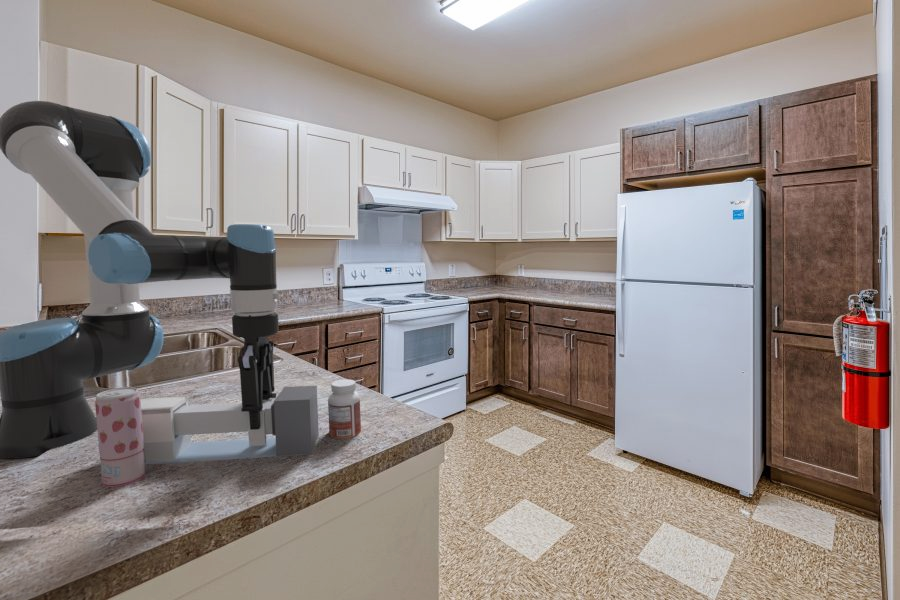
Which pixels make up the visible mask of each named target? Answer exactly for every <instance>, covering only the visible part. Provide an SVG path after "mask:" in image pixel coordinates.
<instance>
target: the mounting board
mask: <svg viewBox="0 0 900 600" xmlns="http://www.w3.org/2000/svg"><path fill="white" fill-rule="evenodd" d="M318 437H319V435H318ZM315 447H316V445H315V446H314V448H315ZM304 455H307V454H302V455H301V456H304ZM288 456H291V455H286V456H285V457H288ZM270 457H272V458H274V457H277V456H276V437H266V445H259V446H249V438H248V439H247V438H245V439H230V440H213V441H212V440H211V441H195V442H193V441H192V442H191V445H190V446H189V447H188V448H187V449H186V450H185V451H184V452H183V453H182V454H181V455H180V456H179V457H178V458H177V459H176V460H174V461H163V462H147V463H146V466H147V465H149V466H150V465H161V464H163V465H164V464H176V463H177V464H179V463H180V464H181V463H194V462H207V461H208V462H209V461H210V462H211V461H223V460H224V461H225V460H227V461H228V460H242V459H256V458H257V459H259V458H270Z"/></svg>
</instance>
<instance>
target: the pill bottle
mask: <svg viewBox="0 0 900 600" xmlns="http://www.w3.org/2000/svg"><path fill="white" fill-rule="evenodd" d="M330 388H331V392H332V393H331V394H330V395H329V396H328V397H327V403H328V404H327V405H328V406H327V407H328V408H327V409H328V429H329V430H328V431H329V432H328V434H329V436H330V437H331V438H336V439H350V438H353V437H356V436H358V435H359V434H360V433H361V432H362V426H361V425H362V423H361V422H362V421H361V419H362V418H361V417H362V416H361V397H360V394H359V393H358V392H357V391H356V388H357V385H356V381H355V380H354V379H350V378H349V379H338V380H335V381H333V382H331V386H330Z"/></svg>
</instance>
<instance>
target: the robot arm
mask: <svg viewBox="0 0 900 600" xmlns="http://www.w3.org/2000/svg"><path fill="white" fill-rule="evenodd" d="M149 145H150V144H149V142H148V139H147V138H146V136H145V134H144V133H143V132H142V131H140V129H139V128H138V127H137V126H136V125H135V124H133V123H131V122H129V121H125V120H123V119H120V118H119V119H118V118H117V117H114V116H112V115H105V114H102V113H101V114H100V113H96V112H93V111H87V110H83V109H81V108H74V107H72V106H71V107H70V106H67V105H64V104H63V105H62V104H61V103H56V102H52V101H45V100H32V101H25V102H21V103H18V104H16V105H13V106H11V107H9V108H8V109H7V110H5V112H4V113H3V114H2V115H0V151H1V153H3V155H4V156H5V158H6V159H7V160H8V161H9V163H11V165H13V167H15V168H16V169H18V170H19V171H21V172H23V173H25V174H28V175H30V176H31V177H32V178H33V179H34V180H35V181H36V182H37V184H38V185H39V186H40V187H41V188H42V189H43V190H44V191H45V192H46V194H47V195H48V196H49V197H50V198H51V199H52V200H53V202H54V203H55V204H56V205H57V206H58V208H60V209H61V211H62V212H63V213H64V214H65V215H66V216H67V217H68V218H69V220H70V221H71V222H72V223H73V224H74V225H75V227H76V228H78V229H79V231H80V232H81V233H82V234H83V237H84V247H85V259H86V269H87V271H86V272H87V282H88V293H89V294H88V295H89V303H90V304H89V305H88V306H87V307H86V308H85V309H84V310H82V311H81V315H82V316H81V317H82V318H81V319H82V320H81V321H82V322H80V323H79V322H78V321H77V319H76V318H73V317H54V318H50V319H41V320H36V321H31V322H25V323H22V324H19V325H15V326H11V327H9V328H7V329H4V330H2V331H1V332H0V399H1V409H2V410H1V414H0V458H1V459H24V458H32V457H38V456H41V455H43V454H45V453H47V452H48V451H50V450H52V449H57V448H60V447H63V446H66V445H71V444H73V443H76V442H78V441H81V440H83V439H85V438H87V437H89V436H92V434H94V433H95V432H97V431H98V430H97V419H96V414H95V413H94V412H93V410H92V408H91V406H90V404H89V402H88V401H87V398H86V396H85V392H84V381H86V380H89V379H93V378H94V379H95V378H98V377H103V376H107V375H111V374H116V373H120V372H125V371H133V370H136V369H138V368H141V367H144V366H145V367H146V366H148V365H150V364H151V363H153V362H154V361H155V360H156V359H157V357H159V355H160V353H161V352H162V349H163V345H164V331H163V330H164V329H163V326H162V325H160V323H161V322H160V320H159V319H158V318H157V317H156V316H154V315H152V314H150V311H149V310H150V308H149V307H147V306H146V305H144V304H143V302H142V301H141V298H140V288H139V287H140V285H139V284H142V283H143V284H144V283H157V282H167V281H168V282H171V281H185V280H186V281H190V280H201V279H203V280H204V279H229V283H230V285H229V292H230V311H231V312H232V313H234V314H233V315H232V317H231V324H232V325H231V326H232V335H233V336H234V337H236V338H241V339H244V340H243V341H244V343H243V346H242V348H241V354H242V355H238V357H237V364H238V368H239V378H240V379H239V380H240V394H241V403H242V409H241V410H242V412H246V411H247V414H248V431H247V432H248V439H249V446H259V445H266V438H267V435H272V430H266V426H265V408H263V402H264V401H273V400H272V399H276V398H277V392H275V389H276V388H275V373H274V372H275V369H274V366H275V365H274V345H275V343H274V341H273V340H269V339H270V338H269V337H271V336H274V335H277V334H278V333H279V330H280V328H279V314H278V313H277V312H275V311H277V310H278V300H280V299H281V294H280V293H277V292H278V291H277V288H278V285H277V263H276V262H277V260H276V253H277V248H276V242H275V235H274V234H275V233H274V230H273V228H272V227H271V226H269V225H266V224H245V223H244V224H242V223H241V224H239V223H238V224H230V225H228V227H227V231H226V236H188V235H187V236H186V235H164V234H163V235H161V234H160V235H159V234H153V233H152V232H151V230H149V229H148V228H147V227H146V226H145V225H144V224H143V223H142V222H141V220H139V219H138V218H137V217H136V215H135V214H134V207H133V206H134V205H133V194H132V192H133V191H135V189H136V188H138V187H139V186H140V179H141V178H143V177H146V175H148V173H149V172H150V171H149V170H150V169H149V167H150V166H151V164H152V153H151V149H150V148H151V147H150V146H149Z"/></svg>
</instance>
